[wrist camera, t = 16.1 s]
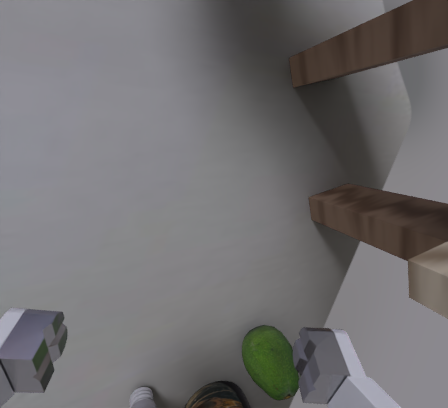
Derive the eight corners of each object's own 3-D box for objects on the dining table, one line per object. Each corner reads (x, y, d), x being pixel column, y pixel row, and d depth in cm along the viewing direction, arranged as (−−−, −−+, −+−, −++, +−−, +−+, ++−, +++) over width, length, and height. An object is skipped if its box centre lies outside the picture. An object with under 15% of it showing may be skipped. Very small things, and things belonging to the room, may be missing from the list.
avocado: (225, 336, 47) (256, 397, 36) (262, 306, 49) (304, 356, 38) (247, 365, 50) (283, 429, 39) (282, 336, 52) (326, 390, 41)
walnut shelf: (301, 226, 48) (484, 315, 24) (276, 56, 40) (506, -62, 16) (350, 208, 50) (558, 271, 27) (334, 45, 43) (607, -71, 19)
